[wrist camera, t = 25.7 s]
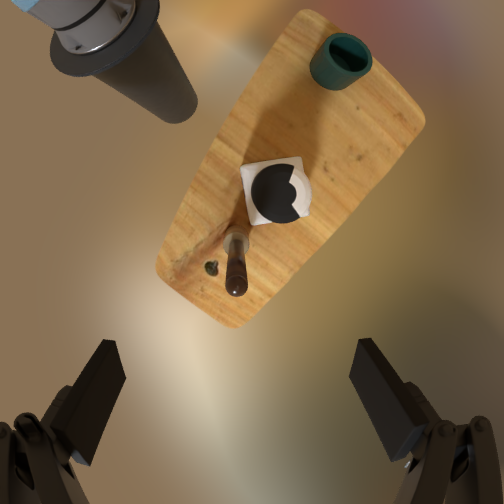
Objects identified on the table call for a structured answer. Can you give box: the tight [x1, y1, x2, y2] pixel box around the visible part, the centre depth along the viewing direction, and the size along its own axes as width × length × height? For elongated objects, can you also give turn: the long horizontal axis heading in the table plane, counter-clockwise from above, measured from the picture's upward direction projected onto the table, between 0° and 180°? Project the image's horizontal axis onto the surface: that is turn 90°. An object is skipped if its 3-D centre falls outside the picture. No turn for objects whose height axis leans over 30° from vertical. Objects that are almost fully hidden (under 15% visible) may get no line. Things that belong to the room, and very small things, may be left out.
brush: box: [223, 225, 249, 297], centre depth 33 cm, size 4×4×20 cm
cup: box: [310, 33, 372, 90], centre depth 32 cm, size 7×7×8 cm
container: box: [240, 156, 312, 225], centre depth 35 cm, size 8×8×13 cm
